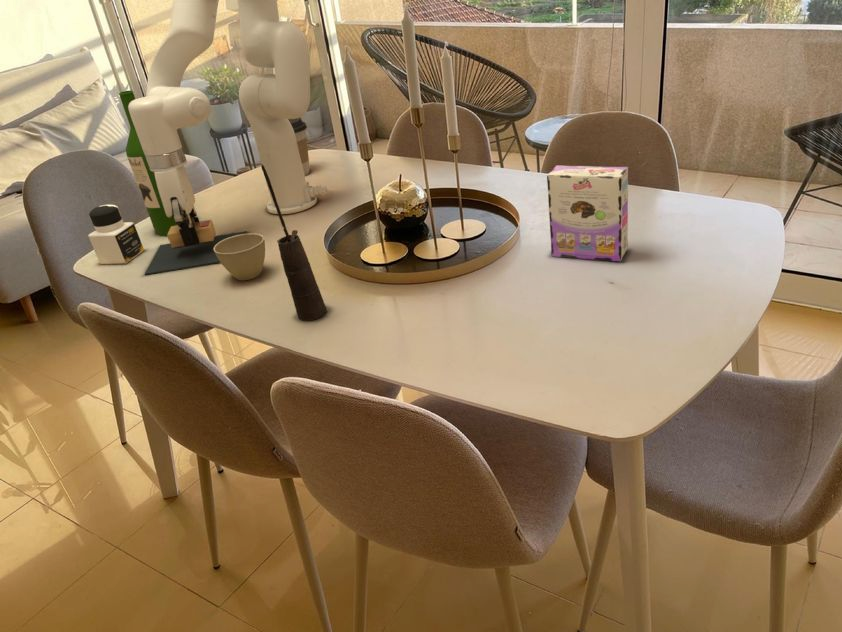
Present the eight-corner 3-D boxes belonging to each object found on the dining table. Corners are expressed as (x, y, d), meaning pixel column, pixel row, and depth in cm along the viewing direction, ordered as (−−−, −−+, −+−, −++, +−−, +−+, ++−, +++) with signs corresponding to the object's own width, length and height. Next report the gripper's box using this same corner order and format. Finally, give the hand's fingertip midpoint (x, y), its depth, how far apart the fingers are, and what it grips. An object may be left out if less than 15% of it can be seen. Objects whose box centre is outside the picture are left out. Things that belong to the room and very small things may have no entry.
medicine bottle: (126, 264, 155) (105, 213, 149) (99, 264, 157) (77, 214, 150) (145, 250, 161) (125, 201, 154) (118, 250, 162) (98, 202, 156)
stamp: (172, 249, 152) (164, 226, 149) (176, 240, 156) (168, 218, 153) (214, 242, 153) (206, 219, 150) (216, 233, 157) (209, 211, 154)
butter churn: (310, 295, 131) (272, 148, 117) (350, 303, 127) (315, 151, 112) (277, 318, 125) (232, 166, 110) (317, 327, 120) (275, 169, 106)
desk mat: (247, 232, 163) (246, 230, 163) (239, 259, 150) (238, 258, 150) (160, 246, 162) (160, 244, 162) (145, 275, 148) (144, 273, 148)
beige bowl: (282, 265, 145) (273, 233, 141) (255, 287, 137) (245, 254, 133) (242, 263, 148) (232, 232, 144) (213, 284, 140) (202, 252, 136)
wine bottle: (147, 234, 169) (95, 97, 152) (173, 220, 176) (125, 87, 159) (175, 236, 166) (125, 96, 149) (200, 222, 173) (155, 86, 156)
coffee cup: (271, 181, 195) (256, 127, 187) (286, 168, 205) (273, 116, 197) (308, 179, 193) (295, 125, 185) (322, 166, 202) (310, 113, 194)
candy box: (628, 250, 133) (630, 165, 124) (620, 263, 128) (621, 176, 120) (559, 244, 138) (556, 163, 130) (550, 256, 134) (545, 173, 125)
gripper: (155, 151, 151) (183, 228, 161) (139, 174, 137) (170, 258, 147) (190, 145, 152) (215, 223, 162) (178, 168, 138) (206, 251, 147)
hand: (194, 238), depth 154 cm, fingers closed on stamp, 5 cm apart
